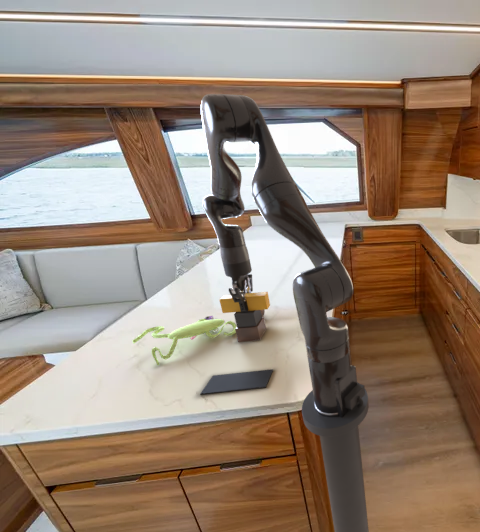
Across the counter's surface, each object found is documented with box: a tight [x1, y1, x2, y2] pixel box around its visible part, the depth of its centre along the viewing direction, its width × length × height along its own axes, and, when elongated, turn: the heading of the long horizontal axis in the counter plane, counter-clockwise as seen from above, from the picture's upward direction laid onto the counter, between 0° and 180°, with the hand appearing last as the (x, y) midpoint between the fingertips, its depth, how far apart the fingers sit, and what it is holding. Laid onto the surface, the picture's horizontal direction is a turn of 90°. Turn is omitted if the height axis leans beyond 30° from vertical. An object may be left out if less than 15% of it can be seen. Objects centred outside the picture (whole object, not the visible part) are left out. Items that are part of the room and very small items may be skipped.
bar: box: [218, 291, 271, 314], centre depth 98 cm, size 14×3×5 cm, turn 97°
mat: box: [199, 368, 274, 396], centre depth 80 cm, size 16×7×1 cm, turn 97°
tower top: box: [233, 310, 262, 328], centre depth 99 cm, size 6×6×5 cm
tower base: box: [235, 316, 267, 343], centre depth 101 cm, size 7×7×5 cm
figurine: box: [131, 315, 237, 366], centre depth 99 cm, size 18×27×6 cm
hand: (246, 308), depth 98 cm, fingers closed on bar, 3 cm apart
